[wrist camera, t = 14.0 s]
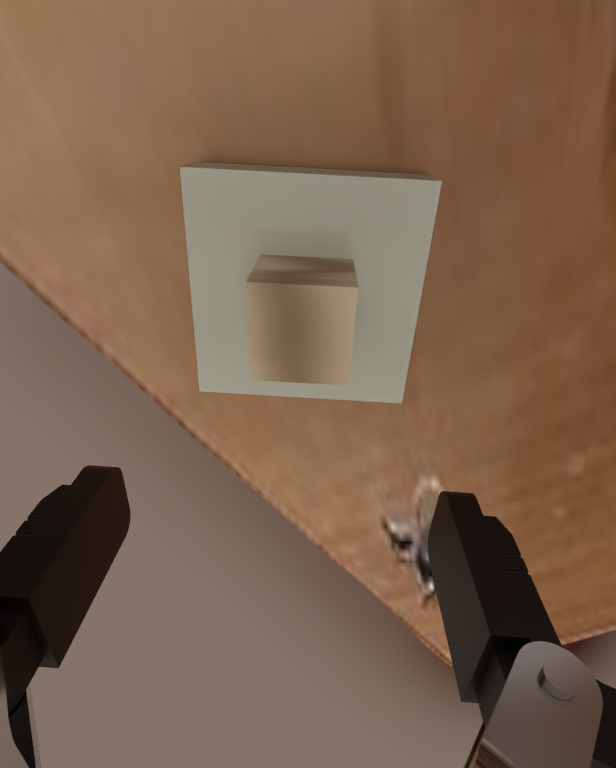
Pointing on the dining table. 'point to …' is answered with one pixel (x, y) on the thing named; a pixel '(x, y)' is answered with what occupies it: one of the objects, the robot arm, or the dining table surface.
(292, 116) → the dining table surface
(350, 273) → the maple cube
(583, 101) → the dining table surface
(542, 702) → the robot arm
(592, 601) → the dining table surface
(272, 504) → the dining table surface
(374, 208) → the plate
